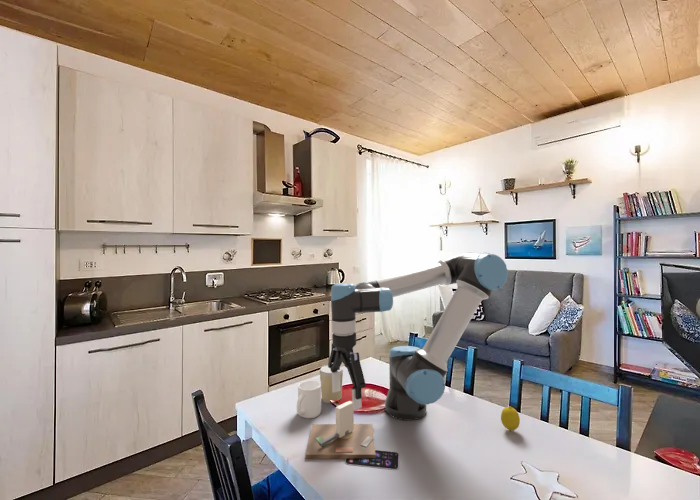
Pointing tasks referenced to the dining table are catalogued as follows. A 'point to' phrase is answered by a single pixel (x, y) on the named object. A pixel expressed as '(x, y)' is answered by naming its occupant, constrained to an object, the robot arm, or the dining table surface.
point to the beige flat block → (342, 422)
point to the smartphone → (377, 460)
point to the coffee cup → (329, 384)
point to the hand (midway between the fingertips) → (346, 399)
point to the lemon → (510, 418)
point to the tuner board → (341, 443)
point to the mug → (309, 399)
